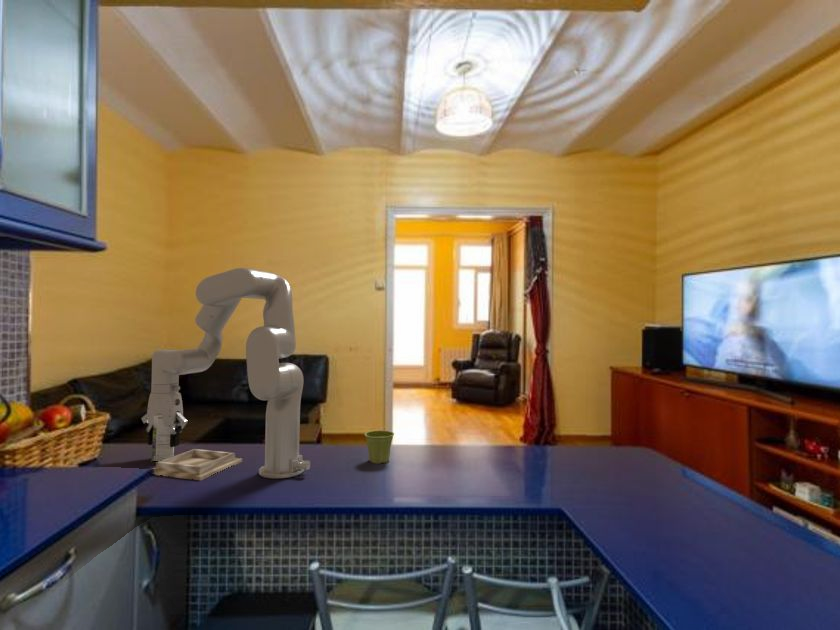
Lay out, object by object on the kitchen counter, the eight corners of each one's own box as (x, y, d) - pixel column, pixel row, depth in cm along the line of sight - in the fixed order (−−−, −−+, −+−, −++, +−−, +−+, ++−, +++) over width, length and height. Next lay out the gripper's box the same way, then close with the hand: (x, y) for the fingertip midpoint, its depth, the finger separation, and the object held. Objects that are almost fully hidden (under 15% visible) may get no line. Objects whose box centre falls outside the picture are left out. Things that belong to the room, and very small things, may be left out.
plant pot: (359, 463, 144) (359, 435, 144) (371, 455, 153) (371, 429, 153) (387, 466, 141) (387, 438, 141) (397, 458, 150) (398, 431, 150)
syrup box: (153, 457, 147) (154, 411, 147) (174, 455, 150) (175, 410, 150) (151, 462, 142) (152, 415, 142) (173, 460, 144) (174, 413, 145)
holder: (242, 461, 144) (242, 452, 144) (200, 480, 127) (200, 469, 127) (193, 456, 149) (193, 447, 149) (147, 473, 131) (147, 463, 131)
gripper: (196, 388, 148) (195, 444, 147) (152, 386, 152) (150, 440, 152) (178, 392, 140) (177, 450, 140) (132, 389, 145) (131, 445, 145)
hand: (163, 444), depth 146 cm, fingers closed on syrup box, 7 cm apart
